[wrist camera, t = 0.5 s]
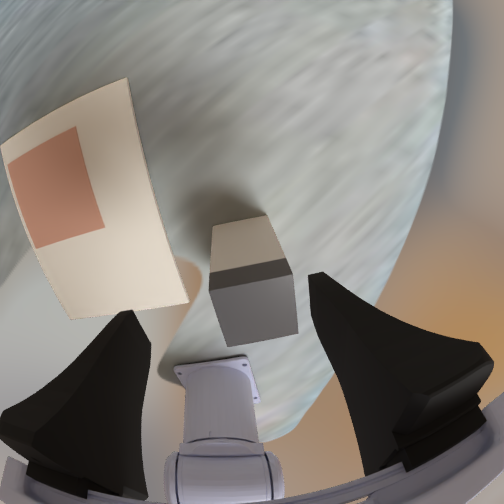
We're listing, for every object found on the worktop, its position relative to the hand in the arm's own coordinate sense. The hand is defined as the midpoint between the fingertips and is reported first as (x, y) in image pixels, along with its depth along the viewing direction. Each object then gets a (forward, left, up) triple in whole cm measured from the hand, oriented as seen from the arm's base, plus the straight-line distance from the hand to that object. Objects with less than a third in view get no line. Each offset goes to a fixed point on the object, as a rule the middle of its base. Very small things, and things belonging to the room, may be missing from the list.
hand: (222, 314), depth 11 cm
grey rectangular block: (-2, -1, -10) cm, 11 cm away
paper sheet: (+3, +11, -10) cm, 15 cm away
